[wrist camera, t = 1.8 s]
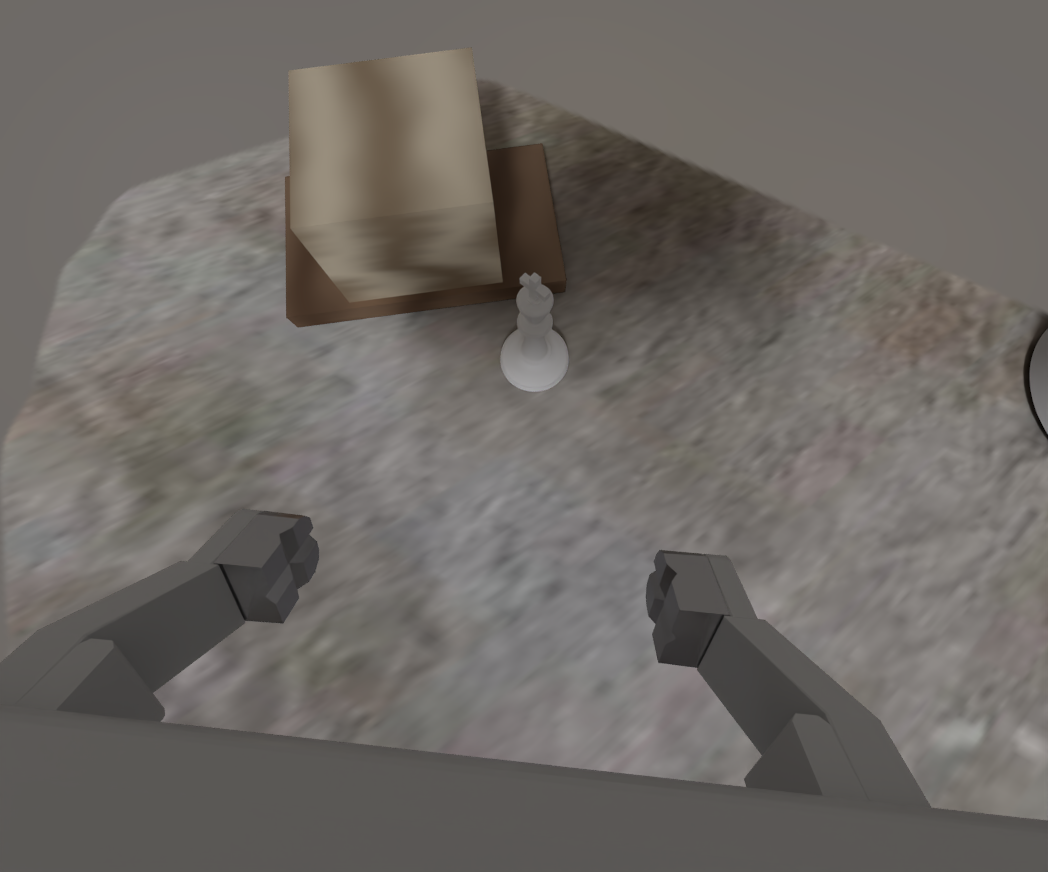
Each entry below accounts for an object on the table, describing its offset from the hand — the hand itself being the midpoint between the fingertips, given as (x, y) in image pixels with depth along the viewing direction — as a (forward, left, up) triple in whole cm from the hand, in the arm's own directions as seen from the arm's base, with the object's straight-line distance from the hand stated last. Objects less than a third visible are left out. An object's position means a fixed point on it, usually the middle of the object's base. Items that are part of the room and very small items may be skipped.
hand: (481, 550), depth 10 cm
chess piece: (-3, -12, -18) cm, 22 cm away
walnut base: (+4, -23, -18) cm, 30 cm away
